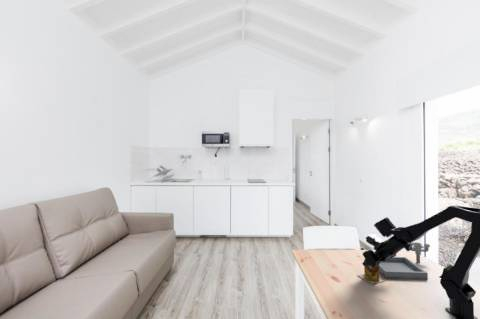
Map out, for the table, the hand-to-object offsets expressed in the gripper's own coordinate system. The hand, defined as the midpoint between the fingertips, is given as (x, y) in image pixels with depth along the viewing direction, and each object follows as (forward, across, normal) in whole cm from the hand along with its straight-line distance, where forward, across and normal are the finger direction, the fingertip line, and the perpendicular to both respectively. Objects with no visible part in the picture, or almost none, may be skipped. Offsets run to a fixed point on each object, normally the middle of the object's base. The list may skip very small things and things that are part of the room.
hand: (366, 263), depth 113 cm
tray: (+2, -19, +7) cm, 20 cm away
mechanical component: (0, -38, +9) cm, 39 cm away
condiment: (+4, 0, +6) cm, 7 cm away
